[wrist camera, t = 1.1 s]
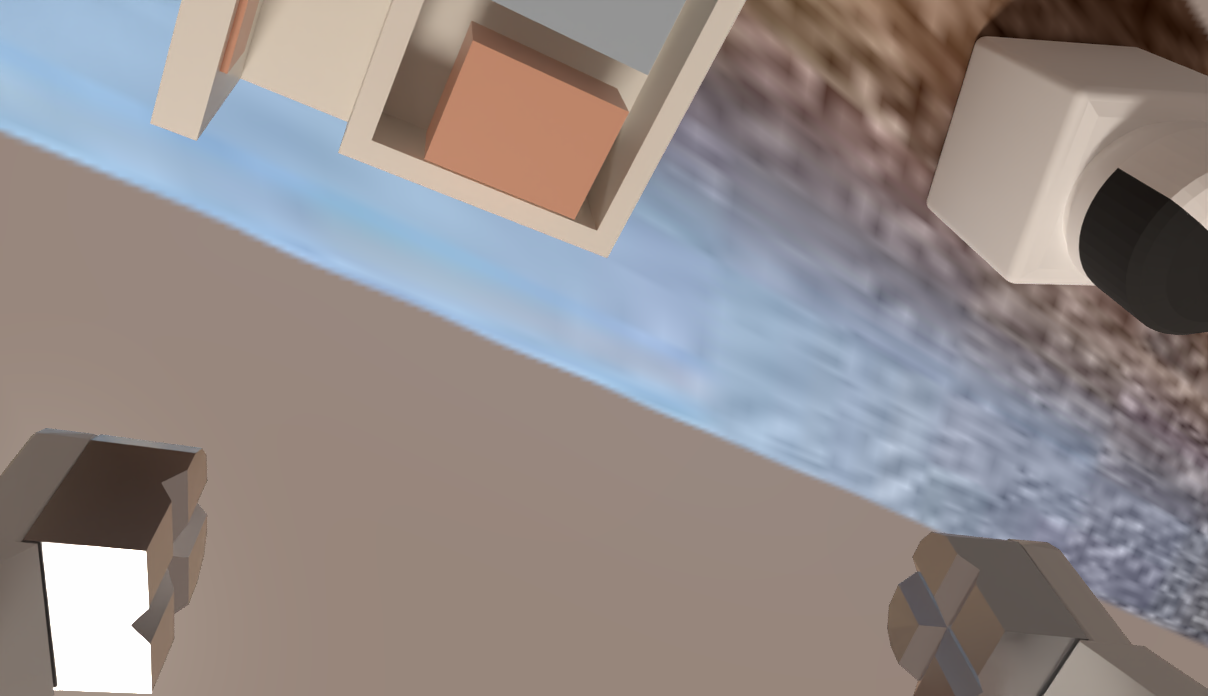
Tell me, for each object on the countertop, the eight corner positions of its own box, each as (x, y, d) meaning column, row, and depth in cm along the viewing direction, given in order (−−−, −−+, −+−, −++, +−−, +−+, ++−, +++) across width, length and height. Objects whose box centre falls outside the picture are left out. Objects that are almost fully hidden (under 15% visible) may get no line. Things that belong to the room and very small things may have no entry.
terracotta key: (426, 132, 29) (424, 159, 27) (471, 20, 27) (472, 40, 25) (566, 190, 31) (574, 219, 29) (617, 88, 29) (629, 112, 27)
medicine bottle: (1072, 212, 39) (1282, 362, 29) (921, 206, 38) (1087, 361, 28) (1139, 45, 36) (1407, 152, 26) (974, 33, 34) (1187, 140, 24)
